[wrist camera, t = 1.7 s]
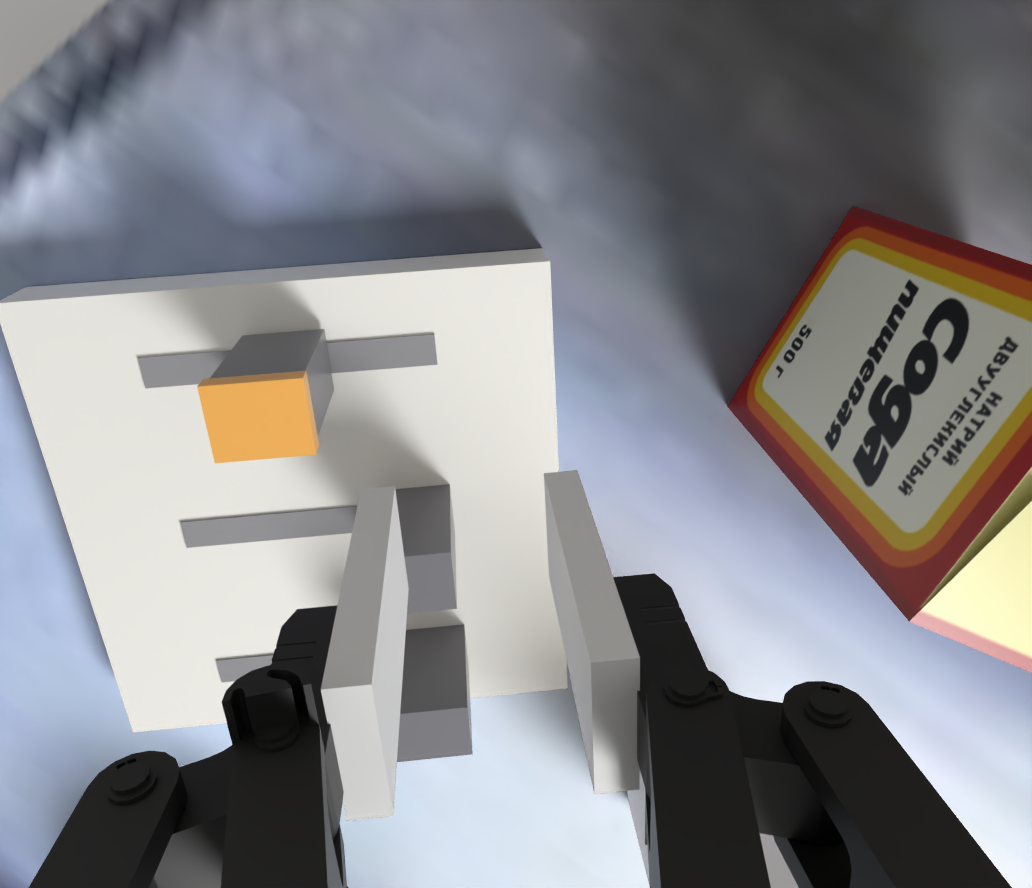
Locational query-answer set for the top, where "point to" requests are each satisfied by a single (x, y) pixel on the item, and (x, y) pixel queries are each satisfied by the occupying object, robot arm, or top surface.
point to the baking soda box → (912, 422)
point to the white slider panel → (306, 474)
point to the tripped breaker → (268, 397)
